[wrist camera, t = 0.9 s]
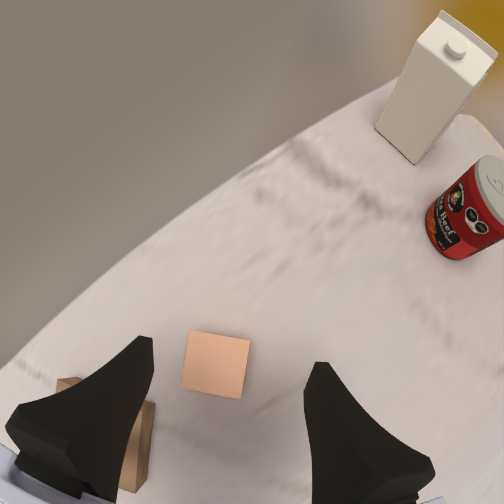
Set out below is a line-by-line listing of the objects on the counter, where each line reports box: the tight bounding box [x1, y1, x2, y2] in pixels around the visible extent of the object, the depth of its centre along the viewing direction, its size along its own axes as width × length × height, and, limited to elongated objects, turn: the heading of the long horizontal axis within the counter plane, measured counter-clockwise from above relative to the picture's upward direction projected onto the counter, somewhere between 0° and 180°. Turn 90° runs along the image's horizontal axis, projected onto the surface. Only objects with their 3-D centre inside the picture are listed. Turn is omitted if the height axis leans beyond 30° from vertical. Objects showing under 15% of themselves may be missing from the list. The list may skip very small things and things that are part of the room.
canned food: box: [426, 155, 504, 259], centre depth 25 cm, size 8×8×11 cm
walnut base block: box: [56, 377, 155, 494], centre depth 22 cm, size 9×9×4 cm
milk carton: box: [375, 10, 498, 164], centre depth 25 cm, size 7×7×19 cm
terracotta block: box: [180, 330, 250, 399], centre depth 23 cm, size 4×4×6 cm
